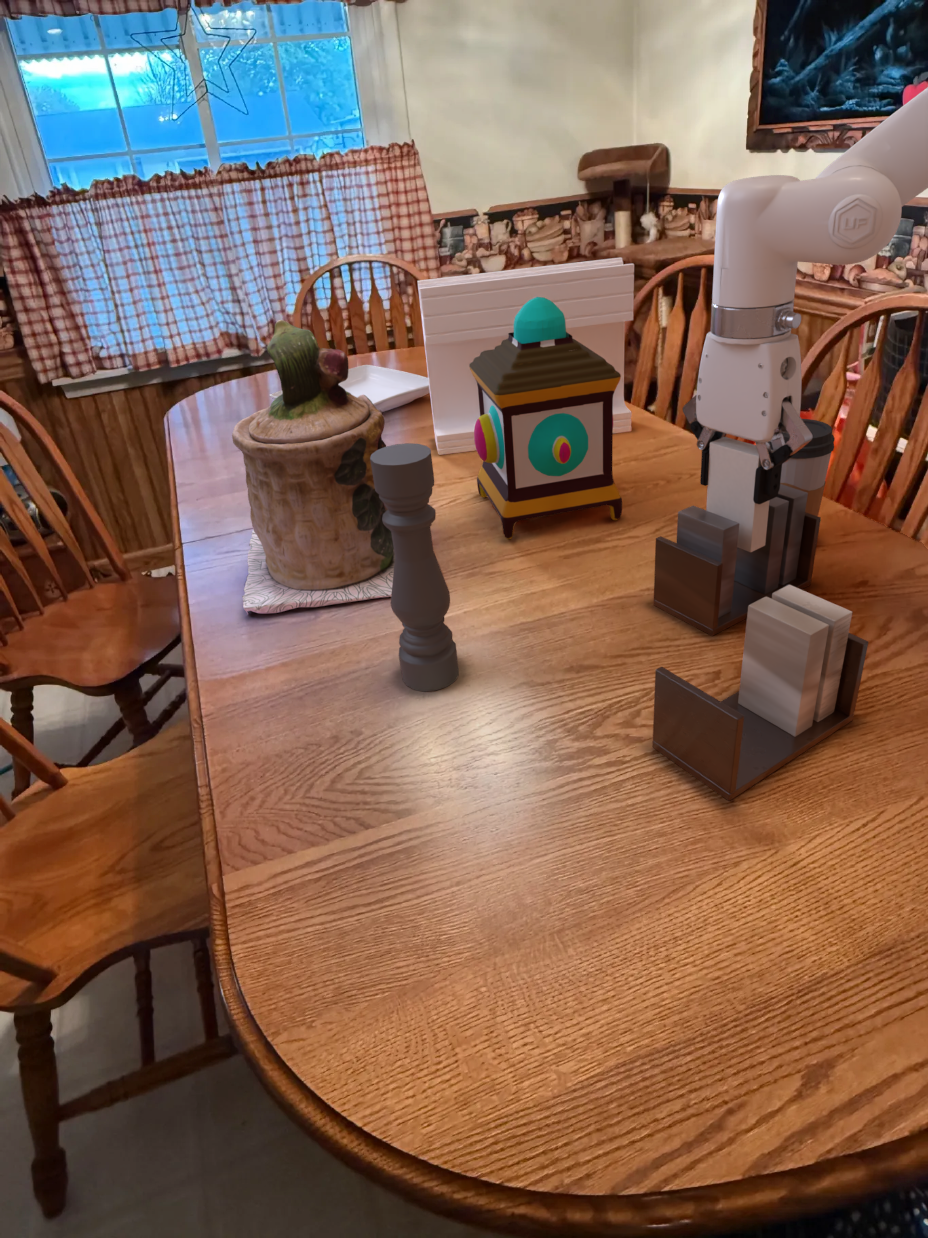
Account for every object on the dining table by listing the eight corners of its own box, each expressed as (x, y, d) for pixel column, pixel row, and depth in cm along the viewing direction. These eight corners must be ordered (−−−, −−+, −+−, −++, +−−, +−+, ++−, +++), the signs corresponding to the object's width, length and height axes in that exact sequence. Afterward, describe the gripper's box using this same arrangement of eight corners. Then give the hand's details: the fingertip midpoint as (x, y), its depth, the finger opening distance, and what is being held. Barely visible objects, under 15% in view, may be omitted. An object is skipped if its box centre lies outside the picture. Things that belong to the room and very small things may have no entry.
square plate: (270, 410, 179) (266, 392, 177) (369, 378, 194) (366, 362, 192) (341, 433, 161) (338, 413, 159) (444, 396, 176) (443, 378, 174)
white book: (719, 527, 95) (725, 436, 89) (765, 545, 90) (774, 450, 85) (704, 534, 94) (709, 442, 88) (750, 552, 89) (758, 456, 84)
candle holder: (453, 692, 85) (426, 465, 72) (396, 690, 87) (359, 467, 74) (463, 658, 91) (439, 441, 78) (409, 657, 92) (377, 443, 79)
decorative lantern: (497, 547, 113) (480, 321, 97) (467, 494, 130) (448, 294, 114) (635, 523, 116) (640, 299, 100) (588, 474, 132) (586, 275, 117)
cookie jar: (241, 623, 102) (169, 362, 85) (253, 539, 123) (197, 316, 106) (437, 592, 104) (404, 331, 87) (416, 515, 125) (387, 292, 108)
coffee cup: (743, 546, 107) (754, 435, 99) (763, 521, 113) (775, 414, 105) (809, 558, 103) (826, 443, 95) (827, 531, 108) (844, 421, 100)
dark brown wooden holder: (749, 559, 104) (758, 471, 98) (810, 584, 97) (824, 492, 91) (653, 605, 97) (656, 513, 90) (712, 636, 90) (720, 539, 84)
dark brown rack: (773, 677, 83) (786, 574, 77) (853, 720, 76) (875, 612, 70) (651, 747, 76) (656, 640, 69) (729, 801, 69) (741, 689, 63)
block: (619, 417, 154) (620, 257, 140) (631, 431, 148) (634, 264, 133) (435, 440, 153) (417, 280, 138) (438, 454, 146) (420, 288, 131)
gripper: (855, 322, 75) (830, 502, 84) (709, 303, 88) (701, 461, 97) (802, 340, 72) (782, 525, 81) (658, 317, 85) (655, 480, 94)
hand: (738, 489), depth 89 cm, fingers closed on white book, 6 cm apart
